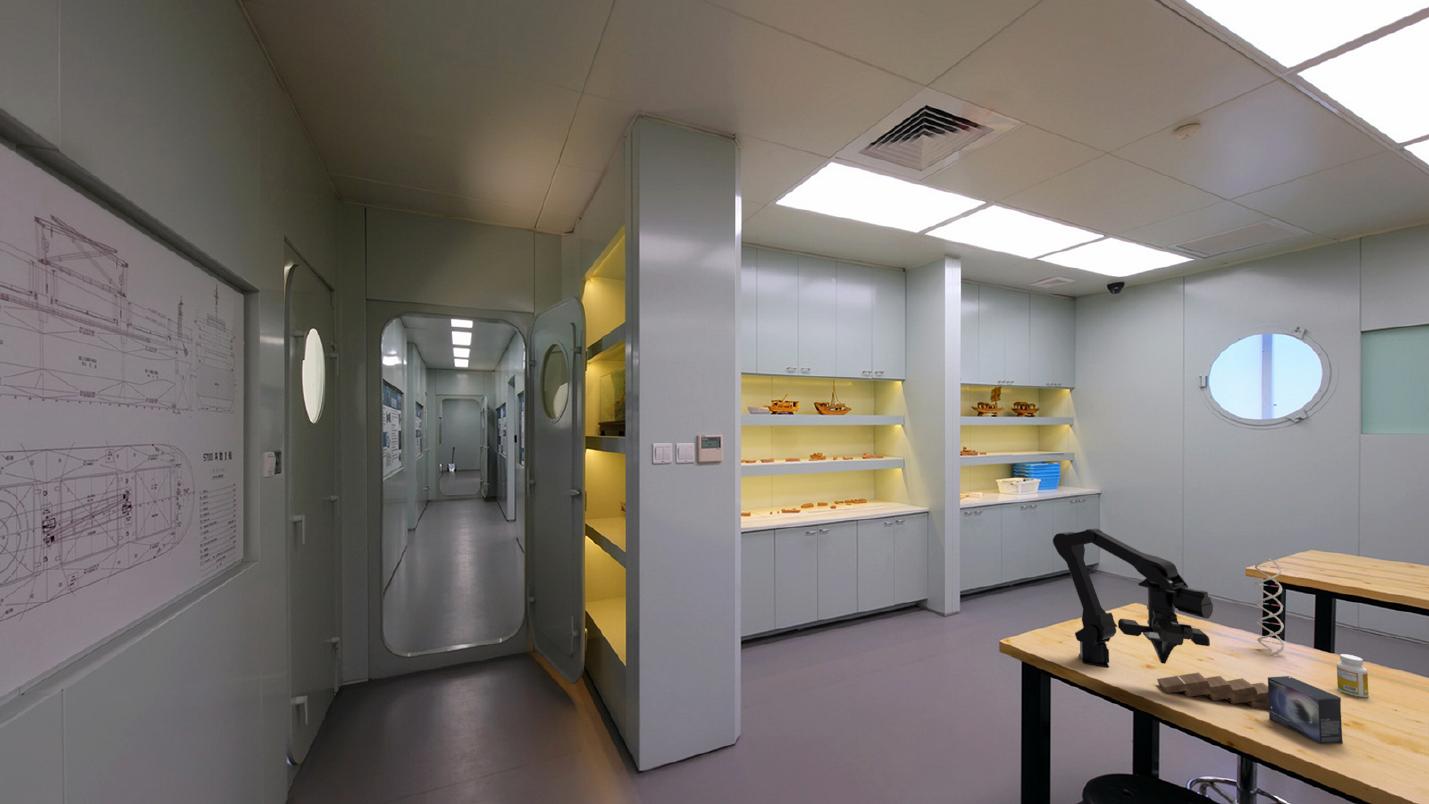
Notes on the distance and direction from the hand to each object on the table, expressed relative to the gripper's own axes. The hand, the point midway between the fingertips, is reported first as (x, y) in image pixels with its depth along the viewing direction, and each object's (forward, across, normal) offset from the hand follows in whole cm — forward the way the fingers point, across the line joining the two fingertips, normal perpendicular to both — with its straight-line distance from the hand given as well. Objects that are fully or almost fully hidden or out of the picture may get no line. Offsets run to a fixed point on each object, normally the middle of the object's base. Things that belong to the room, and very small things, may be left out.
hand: (1162, 663), depth 144 cm
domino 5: (+6, +18, 0) cm, 19 cm away
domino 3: (+6, +9, 0) cm, 11 cm away
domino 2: (+6, +4, 0) cm, 7 cm away
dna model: (+7, +42, +45) cm, 62 cm away
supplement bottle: (+7, +48, +20) cm, 52 cm away
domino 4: (+6, +13, 0) cm, 15 cm away
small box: (+7, +24, -11) cm, 27 cm away
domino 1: (+6, 0, 0) cm, 6 cm away
